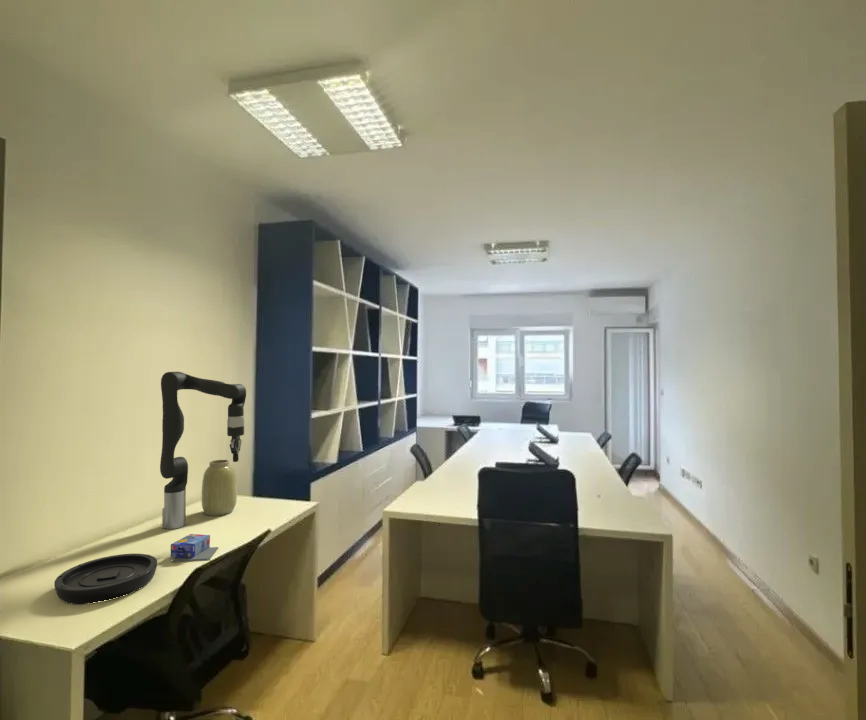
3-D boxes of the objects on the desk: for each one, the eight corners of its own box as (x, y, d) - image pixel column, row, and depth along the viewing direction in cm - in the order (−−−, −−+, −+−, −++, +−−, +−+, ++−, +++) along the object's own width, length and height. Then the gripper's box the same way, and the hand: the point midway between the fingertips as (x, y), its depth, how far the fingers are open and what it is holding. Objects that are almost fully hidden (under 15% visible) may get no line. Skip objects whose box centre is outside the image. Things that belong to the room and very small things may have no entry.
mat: (172, 562, 186) (172, 560, 186) (183, 550, 198) (183, 549, 198) (209, 559, 188) (209, 558, 188) (218, 548, 200) (218, 546, 200)
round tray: (162, 562, 187) (70, 576, 175) (162, 547, 187) (70, 560, 175) (150, 596, 159) (39, 615, 147) (150, 579, 159) (40, 596, 147)
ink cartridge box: (210, 534, 200) (188, 548, 186) (210, 546, 200) (188, 561, 186) (189, 532, 202) (165, 546, 187) (189, 545, 202) (165, 560, 187)
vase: (219, 505, 261) (219, 457, 262) (243, 508, 255) (243, 459, 256) (193, 515, 245) (194, 463, 245) (219, 518, 239) (219, 465, 240)
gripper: (231, 424, 232) (231, 459, 231) (223, 427, 218) (223, 464, 218) (247, 423, 233) (247, 458, 233) (240, 427, 220) (240, 464, 220)
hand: (235, 461), depth 225 cm, fingers closed
